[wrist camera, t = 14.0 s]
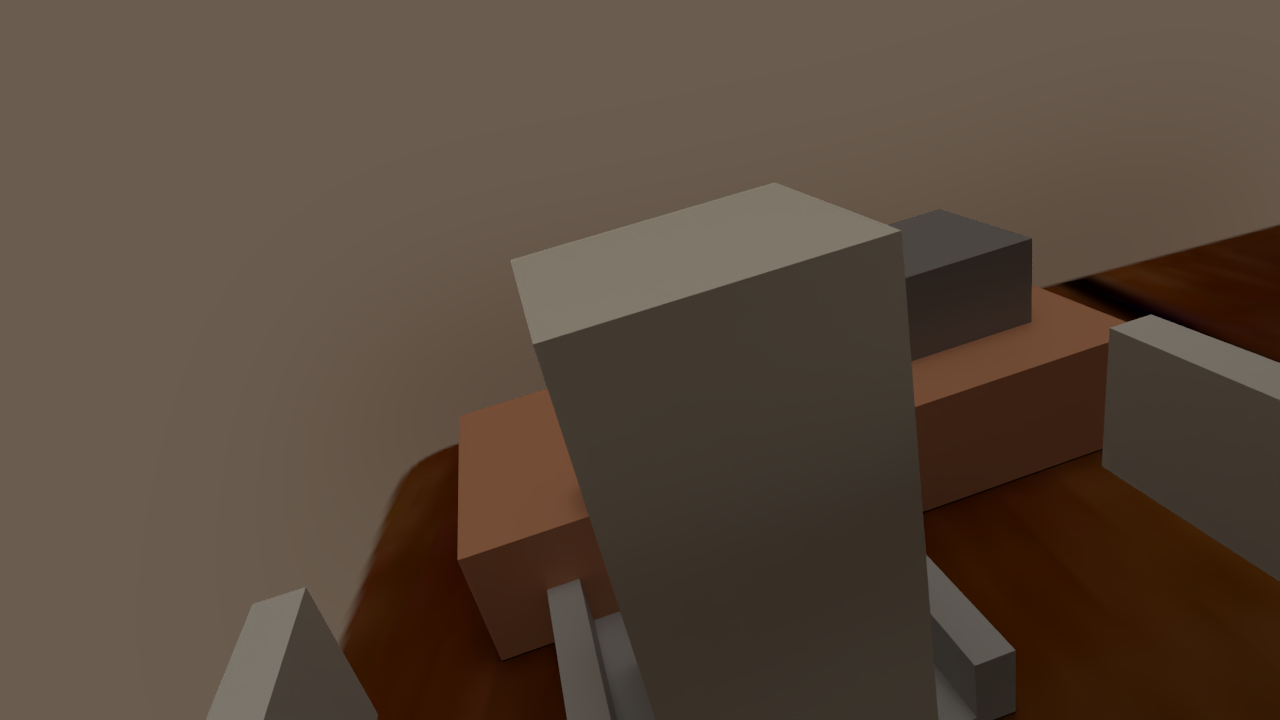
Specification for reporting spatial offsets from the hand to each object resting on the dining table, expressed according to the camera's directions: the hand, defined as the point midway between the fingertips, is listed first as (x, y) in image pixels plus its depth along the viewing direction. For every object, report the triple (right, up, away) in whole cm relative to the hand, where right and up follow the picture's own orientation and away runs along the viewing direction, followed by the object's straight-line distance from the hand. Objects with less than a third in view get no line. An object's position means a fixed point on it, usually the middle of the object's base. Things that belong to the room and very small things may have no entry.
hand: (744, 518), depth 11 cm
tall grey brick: (+2, -6, +7) cm, 9 cm away
